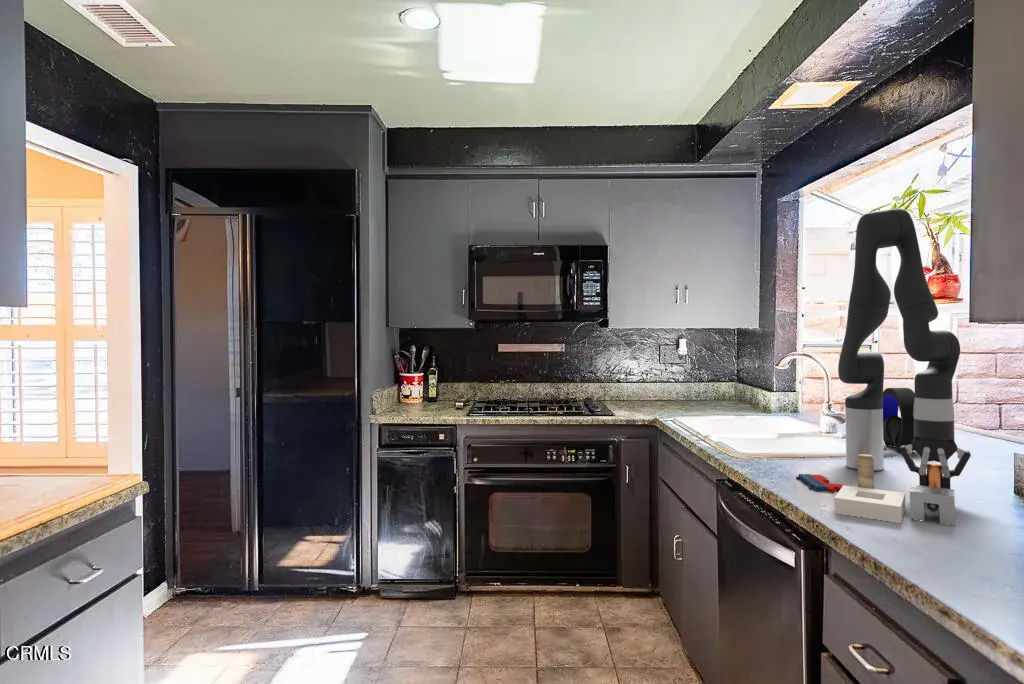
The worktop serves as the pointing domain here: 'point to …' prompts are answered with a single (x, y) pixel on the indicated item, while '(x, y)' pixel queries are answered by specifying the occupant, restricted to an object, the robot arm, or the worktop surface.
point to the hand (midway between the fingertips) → (934, 491)
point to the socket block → (870, 503)
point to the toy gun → (818, 483)
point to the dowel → (866, 471)
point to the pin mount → (934, 496)
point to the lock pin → (934, 481)
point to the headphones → (894, 426)
